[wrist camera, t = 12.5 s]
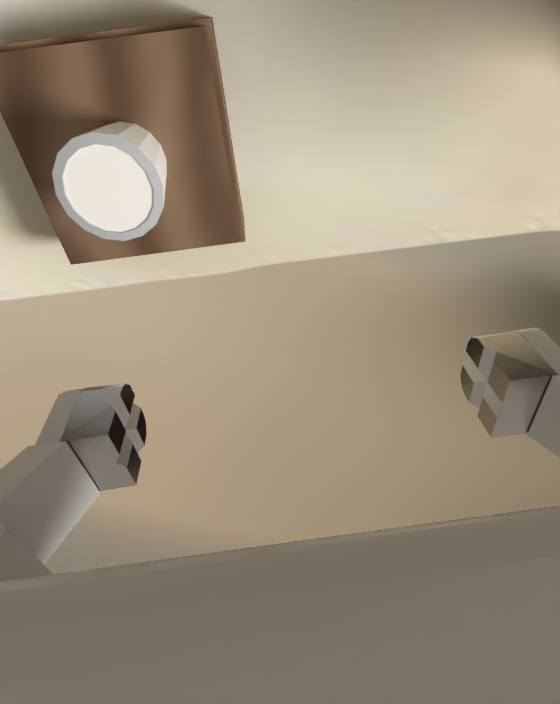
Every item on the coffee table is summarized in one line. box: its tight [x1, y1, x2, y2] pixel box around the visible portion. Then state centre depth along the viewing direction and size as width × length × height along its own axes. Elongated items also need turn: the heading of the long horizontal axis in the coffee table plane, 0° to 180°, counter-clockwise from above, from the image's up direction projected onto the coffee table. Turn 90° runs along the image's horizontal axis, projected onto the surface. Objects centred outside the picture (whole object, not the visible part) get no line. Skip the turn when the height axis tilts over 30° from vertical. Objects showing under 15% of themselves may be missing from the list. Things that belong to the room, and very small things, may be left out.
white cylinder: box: [52, 121, 167, 241], centre depth 30 cm, size 7×7×7 cm
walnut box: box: [0, 18, 245, 265], centre depth 35 cm, size 16×16×6 cm
